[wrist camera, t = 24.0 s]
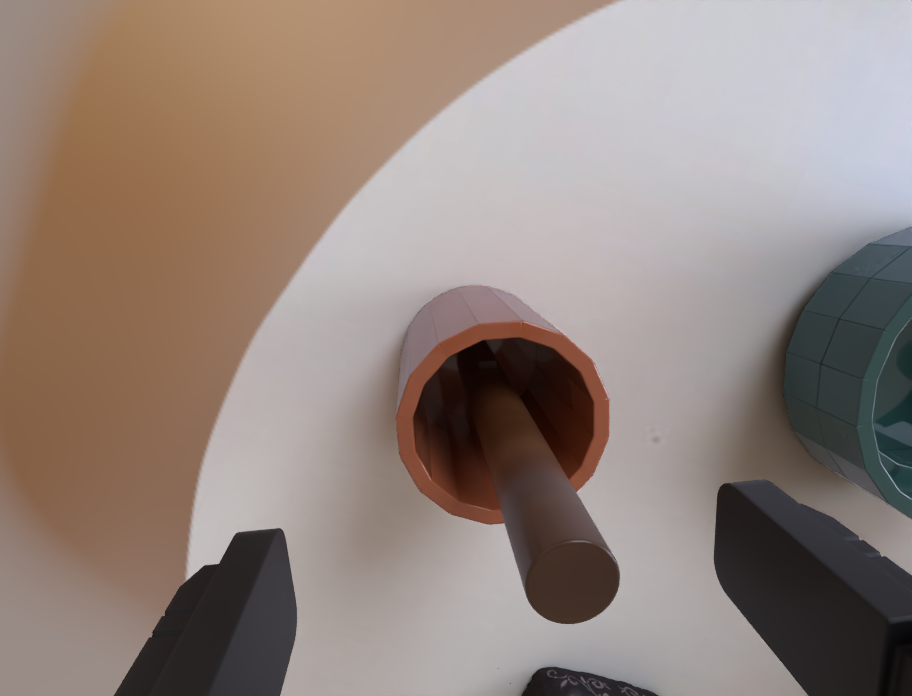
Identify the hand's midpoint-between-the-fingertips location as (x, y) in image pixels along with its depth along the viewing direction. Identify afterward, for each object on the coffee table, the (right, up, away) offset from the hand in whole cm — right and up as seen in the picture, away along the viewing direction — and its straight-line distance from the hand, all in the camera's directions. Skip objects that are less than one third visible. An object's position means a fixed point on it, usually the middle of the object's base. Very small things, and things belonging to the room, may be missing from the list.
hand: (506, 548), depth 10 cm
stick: (0, +3, +19) cm, 19 cm away
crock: (0, +3, +19) cm, 19 cm away
